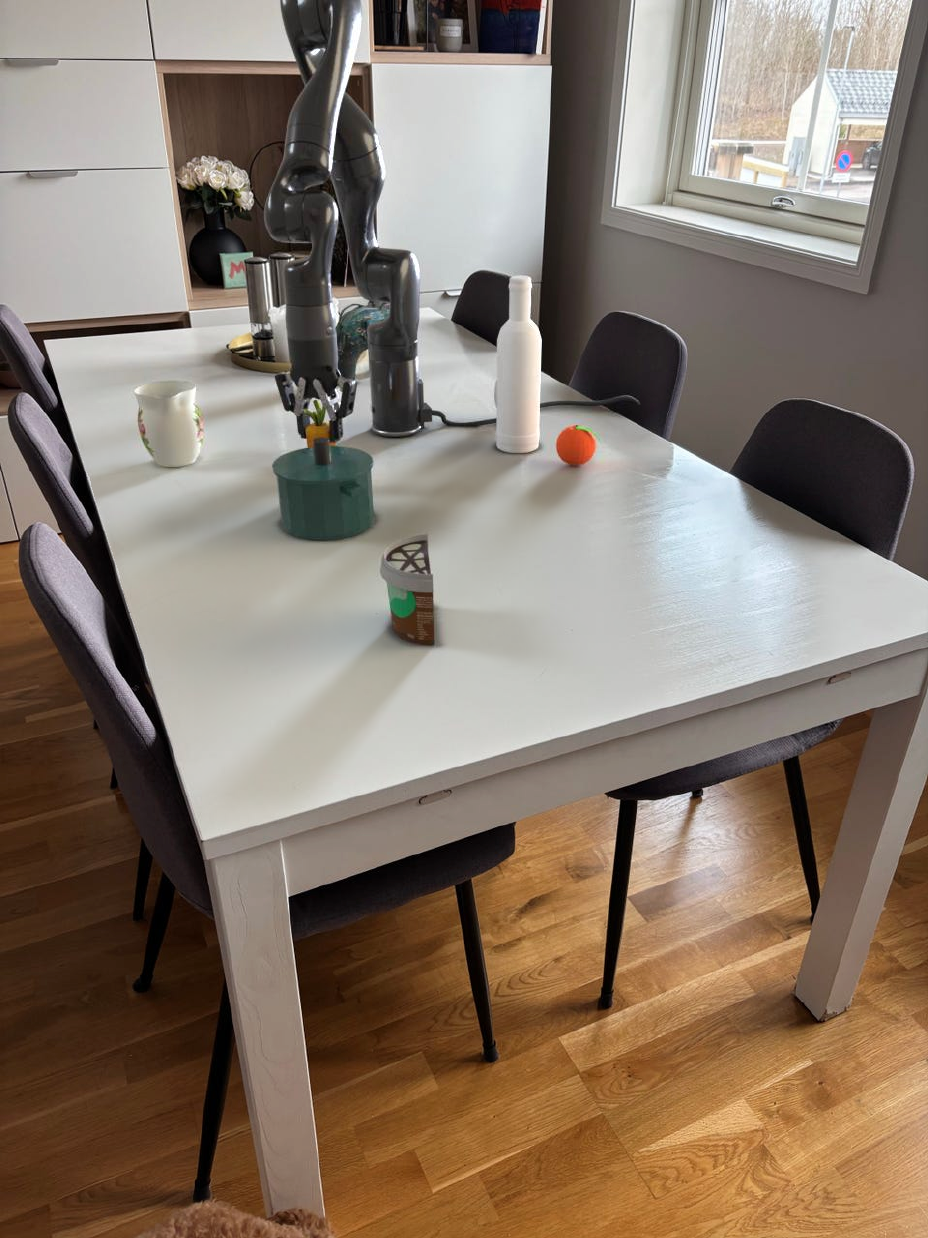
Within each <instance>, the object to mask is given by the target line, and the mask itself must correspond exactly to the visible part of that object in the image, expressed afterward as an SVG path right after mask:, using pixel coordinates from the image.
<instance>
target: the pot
mask: <svg viewBox="0 0 928 1238" xmlns="http://www.w3.org/2000/svg"><path fill="white" fill-rule="evenodd" d="M275 477H276V485H277V494H278V502H279V503H278V505H279V512H280V513H279V514H280V520H281V524H282V529H283V530H284V532H285V533H287V534H289V535H291V536H293V537H295V538H298V539H303V540H308V541H309V540H310V541H334V540H335V541H336V540H341V539H342V540H343V539H347V538H350V537H353V536H356V535H358V534H361V533H363V532H366V530H368V529H369V528H370V527H371V526H372V524H373V523H374V518H375V511H374V493H373V477H372V469H371V470H370V471H369V472H368V473H366V474H365V475H363V476H361V477H358V478H355V479H352V480H349V481H345V482H340V483H333V484H321V485H309V484H298V483H293V482H289V481H285V480H283V479H281V478H279V477H277V476H276V475H275Z"/></svg>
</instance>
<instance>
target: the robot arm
mask: <svg viewBox="0 0 928 1238" xmlns="http://www.w3.org/2000/svg"><path fill="white" fill-rule="evenodd" d="M279 6H280V13H281V17H282V18H281V19H282V23H283V26H284V30H285V34H286V37H287V40H288V42H289V46H290V49H291V52H292V54H293V58H294V59H295V62H296V65H297V68H298V71H299V73H300V76H301V79H302V82H303V84H304V88H303V89H302V91H301V92H300V93H299V95H298V96H297V98H296V100H295V101H294V104H293V106H292V108H291V111H290V113H289V116H288V120H287V125H286V134H285V140H284V149H283V158H282V161H281V164H280V166H279V168H278V171H277V173H276V176H275V177H274V178H275V179H274V181H273V183H272V185H271V187H270V189H269V192H268V195H267V197H266V200H265V204H264V209H263V210H264V211H263V220H264V225H265V229H266V230H267V233H268V234H269V236H270V237H271V238H272V239H273V240H275V241H276V242H278V243H285V244H287V243H288V244H289V243H290V244H299V243H300V244H312V245H311V246H312V248H311V251H310V253H309V255H308V256H306V257H301V258H296V259H292V260H290V261H287V262H286V263H285V264H284V265H283V268H282V279H283V281H282V282H283V288H284V297H285V298H284V300H285V301H284V302H285V329H286V338H287V348H288V357H289V358H288V360H289V364H290V365H291V368H290V370H289V371H287V370H284V371H281V372H279V373H277V374H275V376H274V380H275V384H276V387H277V390H278V393H279V397H280V399H281V403H282V406H283V410H284V411H285V412H291V413H293V414H294V416H295V418H296V427H297V434H298V435H300V439H303V440H307V439H306V427H307V426H308V425H310V424H311V417H310V416H308V415H306V414H304V411H305V410H308V411H309V408H310V403H311V401H312V399H315V400H318V401H320V402H321V405H323V407H324V408H326V413H327V415H328V418H329V420H328V423H329V427H330V440H331V442H332V443H335V444H336V443H338V442H340V441H341V440H342V438H344V437H343V436H344V425H343V424H344V423H343V419H345V418H346V417H348V416H350V415H352V414H353V413H354V409H355V408H354V407H355V401H356V395H357V388H358V379H356V377H355V378H352V379H347V378H344V377H342V376H341V374H340V372H339V370H338V348H337V334H336V325H337V323H336V314H335V309H334V304H333V291H332V273H331V272H332V261H333V253H334V248H335V247H334V246H335V242H336V237H337V232H338V227H339V218H340V216H341V220H342V224H343V229H344V233H345V238H346V245H347V251H348V255H349V261H350V266H351V272H352V276H353V277H352V278H353V280H354V285H355V287H356V289H357V291H358V293H359V295H360V296H361V297H362V298H363V299H365V300H367V301H369V300H370V301H375V302H385V303H390V313H389V316H388V317H387V318H385V319H382V320H379V321H376V322H373V323H371V324H370V325H369V326H368V329H367V336H368V350H367V351H368V353H367V354H368V369H369V384H370V402H371V403H370V405H369V406H370V412H371V416H372V417H371V418H372V420H371V422H372V424H371V426H372V427H371V428H372V429H371V430H372V432H373V433H374V434H375V435H378V436H380V437H381V436H382V437H388V438H402V437H408V436H413V435H415V434H418V433H419V432H420V431H421V430H424V429H425V423H431V422H433V416H436V417H439V418H440V420H441V422H442V423H443V424H444V425H446V426H448V427H464V428H465V427H466V428H469V427H470V428H473V427H481V426H487V425H493V424H497V417H495V418H488V419H481V420H475V421H468V422H467V421H466V422H457V421H451V420H449V419H447V417H446V414H445V413H444V412H442V411H439V410H433V408H432V407H431V406H430V405H429V404H428V403H427V402H425V395H424V393H425V392H424V381H423V380H422V379H421V378H420V377H419V376H420V375H419V372H420V371H419V349H418V332H419V331H418V330H419V325H420V305H421V304H420V303H421V302H420V301H421V299H420V297H421V273H420V272H421V271H420V266H419V261H418V259H417V257H416V255H415V254H414V253H413V252H412V251H411V250H409V249H400V248H391V247H390V248H389V247H380V245H379V244H378V241H377V237H376V233H375V224H374V218H375V213H376V209H377V206H378V204H379V200H380V198H381V196H382V195H381V194H382V191H383V190H384V189H383V188H384V185H385V180H386V166H385V165H386V164H385V159H384V155H383V152H382V147H381V144H380V140H379V135H378V132H377V129H376V127H375V125H374V124H373V122H372V121H371V120H370V118H369V117H368V115H367V114H366V113H365V112H364V110H363V109H362V108H361V107H360V106H359V105H358V104H357V102H355V100H354V99H353V98H352V97H351V96H350V94H348V93H347V91H346V89H347V86H348V83H349V79H350V76H351V72H352V68H353V64H354V60H355V57H356V53H357V49H358V46H359V42H360V39H361V38H360V37H361V32H362V27H363V6H362V1H361V0H279ZM329 178H330V181H331V184H332V186H333V189H334V192H335V197H336V200H337V202H336V201H335V199H334V197H333V196H332V195H331V194H330V193H329V192H327V191H325V190H316V189H315V190H311V189H310V190H309V188H311V187H315V186H318V185H323V184H324V183H326V182H327V181H328V180H329ZM339 212H340V213H339ZM339 214H340V215H339ZM293 383H294V384H295V386H296V388H297V391H296V392H295V389H294V385H293ZM337 387H339V391H340V392H341V398H340V395H339V393H338V390H337ZM624 401H628V402H630V403H633V404H634V405H636V406H640V405H641V402H640V401H639V400H638V399H637V398H635V397H633V396H631V395H619V396H614V397H612V398H608V399H603V400H569V399H568V400H567V399H566V400H564V399H563V400H552V401H545V402H540V409H542V408H548V407H556V406H558V407H559V406H577V407H578V406H579V407H601V406H606V405H611V404H614V403H618V402H624Z"/></svg>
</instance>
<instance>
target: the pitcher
mask: <svg viewBox="0 0 928 1238" xmlns="http://www.w3.org/2000/svg"><path fill="white" fill-rule="evenodd" d="M196 389H197V387H196V384H195V383H193V382H189V381H186V380H160V381H154V382H150V383H149V382H148V383H145V384H142V385H140V386H138V387H136V388H135V389H134V390H133V393H134V396H135V398H136V401H137V404H138V410H137V427H138V432H139V435H140V438H141V440H142V443H143V445H144V447H145V449H146V451H147V452H148V454H149V456H150V457H151V458H152V459H153V460H154V461H155V462H156V463H157V464H158V465H159V466H160V467H164V468H181V467H184V466H189V465H191V464H193V463H194V462H195V461H196V460H197V458H198V456H199V455H200V452H201V450H202V446H203V441H204V422H203V421H204V420H203V415H202V411H201V410H200V407H199V405H198V403H197V401H196Z"/></svg>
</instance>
